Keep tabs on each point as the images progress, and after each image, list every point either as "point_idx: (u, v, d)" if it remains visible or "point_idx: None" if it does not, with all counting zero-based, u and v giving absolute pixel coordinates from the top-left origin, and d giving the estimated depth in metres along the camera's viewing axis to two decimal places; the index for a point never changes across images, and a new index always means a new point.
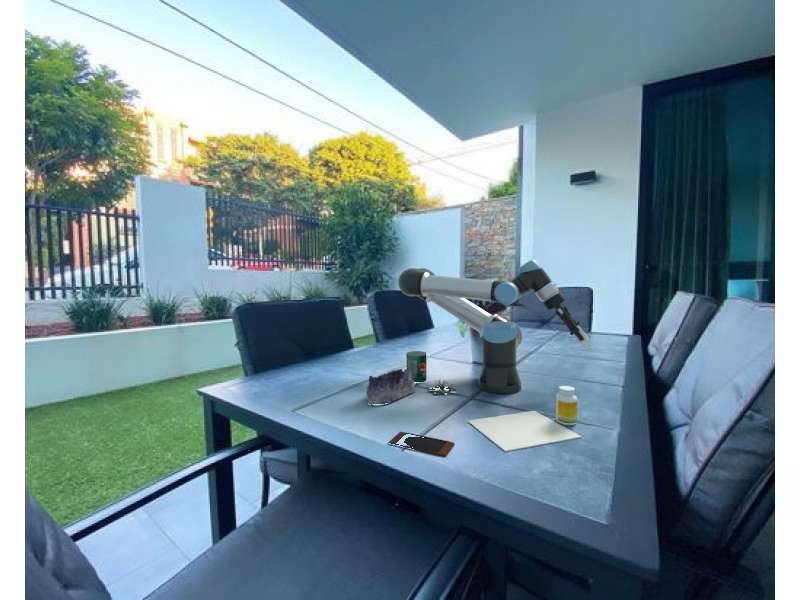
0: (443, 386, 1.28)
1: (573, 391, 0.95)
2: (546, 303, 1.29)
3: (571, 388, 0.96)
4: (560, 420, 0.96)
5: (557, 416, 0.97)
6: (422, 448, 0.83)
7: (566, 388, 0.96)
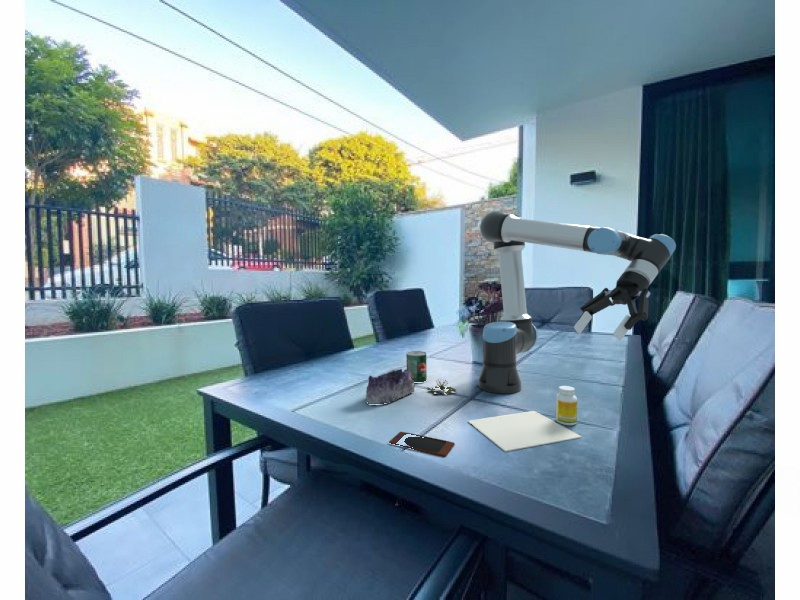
0: (443, 386, 1.28)
1: (573, 391, 0.95)
2: (638, 275, 0.99)
3: (571, 388, 0.96)
4: (560, 420, 0.96)
5: (557, 416, 0.97)
6: (422, 448, 0.83)
7: (566, 388, 0.96)
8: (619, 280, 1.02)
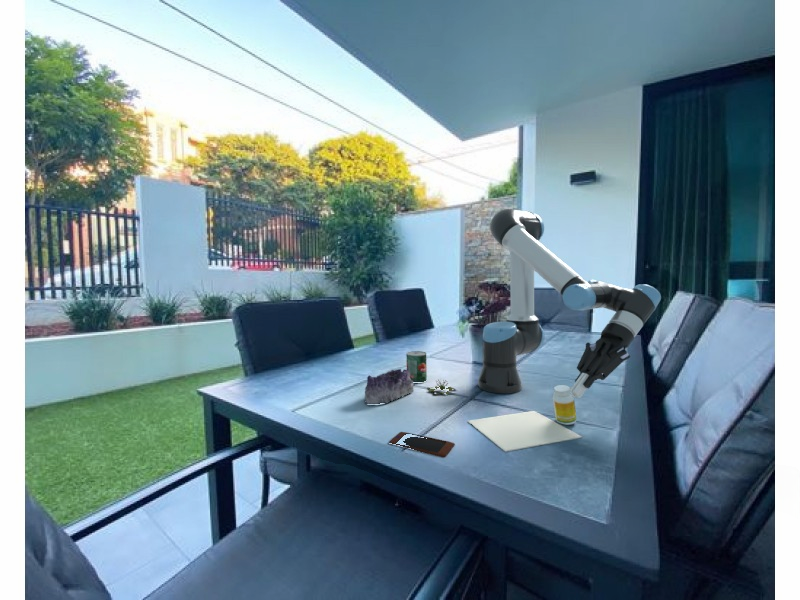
0: (443, 386, 1.28)
1: (568, 391, 0.94)
2: (623, 328, 0.97)
3: (566, 388, 0.95)
4: (559, 420, 0.96)
5: (556, 416, 0.97)
6: (422, 448, 0.83)
7: (561, 389, 0.95)
8: (604, 332, 1.00)
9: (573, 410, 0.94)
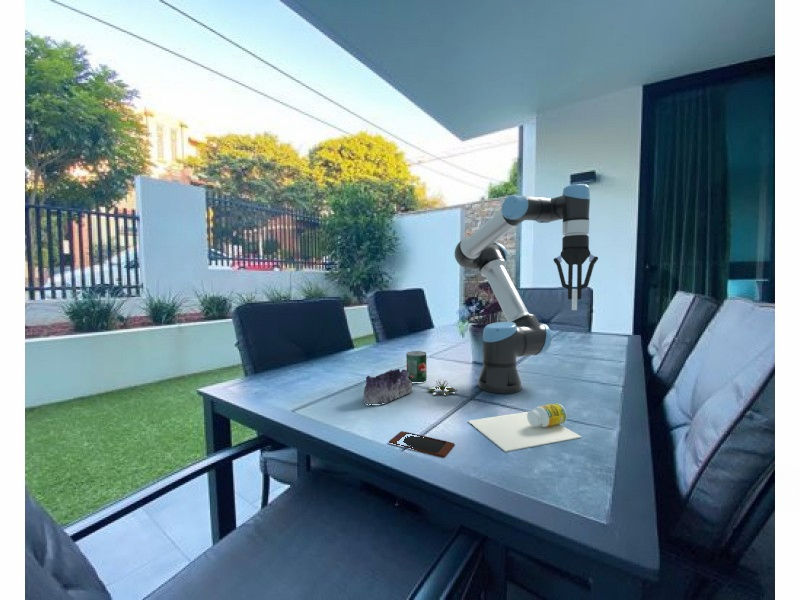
0: None
1: (539, 420, 0.91)
2: (585, 237, 1.08)
3: (534, 417, 0.92)
4: None
5: None
6: (422, 448, 0.83)
7: (532, 420, 0.92)
8: (571, 246, 1.09)
9: (556, 417, 0.92)
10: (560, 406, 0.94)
